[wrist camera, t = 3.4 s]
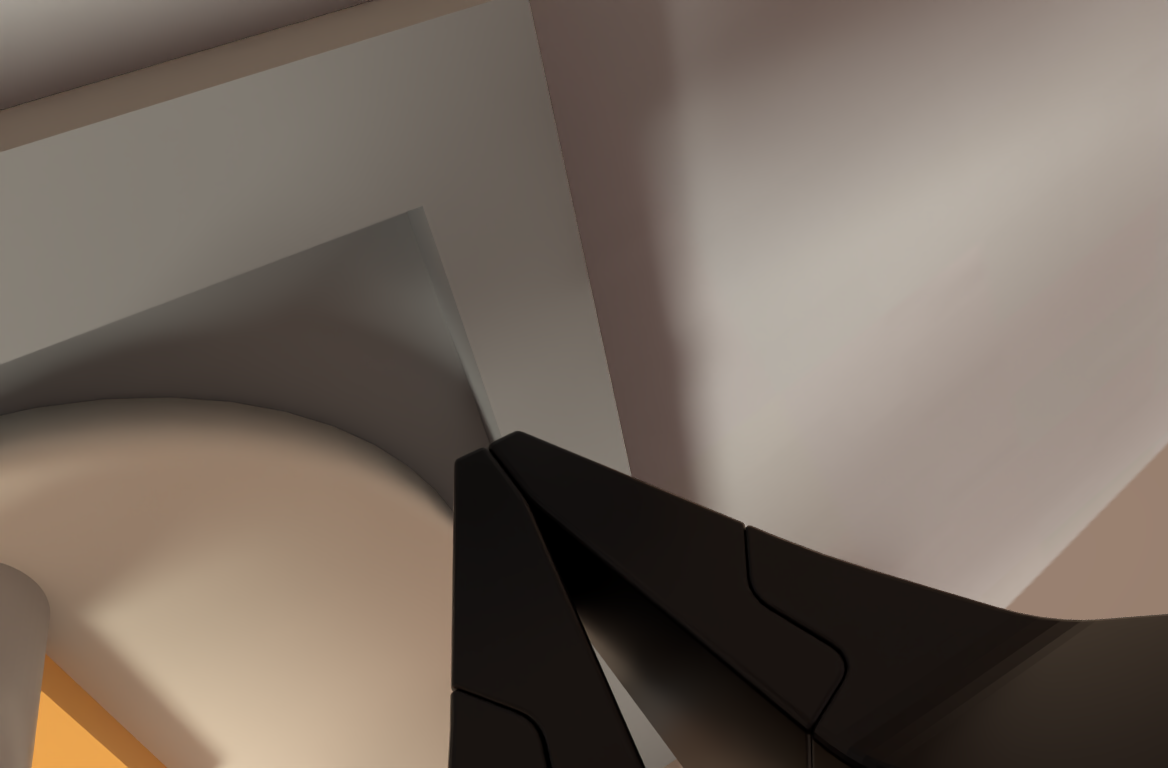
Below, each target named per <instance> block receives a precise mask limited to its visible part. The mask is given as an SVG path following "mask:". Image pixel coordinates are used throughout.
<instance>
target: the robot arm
mask: <svg viewBox="0 0 1168 768" xmlns="http://www.w3.org/2000/svg"><path fill="white" fill-rule="evenodd" d="M591 643H592V644H591ZM592 645H593V646H594V648H595V649H596V650H597V652H598V653H599V654H600V656H601V657H602V658H603V660H604V661H605V662H606V664H607V665H608V667H609V668H610V669H611V671H612V672H613V673H614V675H615V676H616V677H617V679H618V680H619V681H620V683H621V684H622V685H623V687H624V688H625V690H626V691H627V692H628V694H629V695H630V696H631V698H632V699H633V700H634V702H635V703H636V704H637V706H638V707H639V709H640V710H641V711H642V713H643V714H644V715H645V717H646V718H647V719H648V721H649V722H650V723H651V725H652V726H653V728H654V729H655V730H656V732H657V733H658V734H659V736H660V737H661V738H662V740H663V741H664V742H665V744H666V745H667V746H668V748H669V749H670V751H671V752H672V753H673V755H674V756H675V757H676V759H677V760H678V761H679V763H680V764H681V765H682V767H683V768H1168V614H1162V615H1149V616H1136V617H1123V618H1111V619H1099V620H1064V619H1055V618H1046V617H1039V616H1033V615H1028V614H1023V613H1018V612H1014V611H1010V610H1006V609H1002V608H999V607H995V606H992V605H988V604H985V603H982V602H978V601H975V600H971V599H968V598H965V597H961V596H958V595H955V594H951V593H948V592H945V591H941V590H938V589H935V588H931V587H928V586H925V585H921V584H918V583H914V582H911V581H908V580H904V579H901V578H898V577H894V576H891V575H888V574H884V573H881V572H878V571H874V570H871V569H868V568H865V567H862V566H859V565H856V564H853V563H850V562H846V561H843V560H840V559H837V558H834V557H831V556H828V555H825V554H822V553H819V552H817V551H814V550H811V549H809V548H806V547H803V546H801V545H798V544H796V543H793V542H790V541H788V540H785V539H783V538H780V537H777V536H775V535H772V534H770V533H768V532H765V531H763V530H760V529H758V528H756V527H753V526H750V525H749V526H747V527H746V528H745V525H744V523H743V522H740V521H738V520H735V519H733V518H731V517H728V516H726V515H723V514H721V513H719V512H716V511H714V510H711V509H709V508H706V507H704V506H702V505H699V504H697V503H694V502H692V501H689V500H687V499H685V498H682V497H680V496H677V495H675V494H673V493H670V492H668V491H665V490H663V489H660V488H658V487H656V486H653V485H651V484H648V483H646V482H643V481H641V480H639V479H636V478H634V477H631V476H629V475H627V474H624V473H622V472H619V471H617V470H614V469H612V468H610V467H607V466H605V465H602V464H600V463H597V462H595V461H593V460H590V459H588V458H585V457H583V456H581V455H578V454H576V453H573V452H571V451H568V450H566V449H564V448H561V447H559V446H556V445H554V444H552V443H549V442H547V441H544V440H542V439H539V438H537V437H535V436H532V435H530V434H527V433H525V432H522V431H514V432H512V433H510V434H508V435H505V436H503V437H501V438H499V439H497V440H495V441H493V442H491V443H490V445H489V449H487V448H486V447H480V448H478V449H476V450H474V451H472V452H470V453H468V454H466V455H463V456H461V457H459V458H458V459H456V461H455V463H454V493H453V564H452V635H451V689H452V691H453V692H452V693H451V695H450V732H449V751H448V768H646V767H645V765H644V763H643V761H642V758H641V756H640V754H639V751H638V749H637V747H636V745H635V742H634V740H633V738H632V735H631V733H630V731H629V729H628V726H627V724H626V722H625V720H624V717H623V715H622V713H621V710H620V708H619V706H618V704H617V701H616V699H615V697H614V694H613V692H612V690H611V688H610V685H609V683H608V681H607V678H606V676H605V674H604V672H603V669H602V667H601V665H600V662H599V660H598V658H597V656H596V653H595V651H594V649H593V647H592Z"/></svg>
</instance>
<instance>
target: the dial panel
mask: <svg viewBox="0 0 1168 768" xmlns="http://www.w3.org/2000/svg"><path fill="white" fill-rule="evenodd" d="M169 397H171V398H185V399H198V400H212V401H225V402H235V403H240V404H245V405H251V406H256V407H262V408H267V409H273V410H278V411H284V412H288V413H291V414H294V415H298V416H301V417H304V418H307V419H311V420H314V421H317V422H321V423H324V424H327V425H330V426H334V427H336V428H338V429H340V430H343V431H345V432H347V433H349V434H351V435H354V436H356V437H358V438H360V439H362V440H365V441H367V442H369V443H371V444H373V445H375V446H377V447H379V448H380V449H382V450H383V451H385V452H386V453H388V454H390V455H391V456H393V457H394V458H396V459H397V460H399V461H401V462H402V463H404V464H405V465H407V466H408V467H410V468H411V469H412V470H413V471H414V472H415V473H416V474H417V475H419V476H420V477H421V478H422V479H423V480H424V481H425V482H426V483H428V484H429V485H430V486H431V487H432V488H433V489H434V490H436V492H437V493H438V494H439V495H440V497H441V498H442V499H443V500H444V502H445V503H446V504H447V505H448V507H449V508H450V509H451V510H452V512H453V493H454V463H455V461H456V459H458V458H459V457H461V456H463V455H466V454H468V453H470V452H472V451H474V450H476V449H478V448H480V447H486V448H487V449H489V445H490V443H491V442H493V441H495V440H497V439H499V438H501V437H503V436H505V435H508V434H510V433H512V432H514V431H522V432H525V433H527V434H530V435H532V436H535V437H537V438H539V439H542V440H544V441H547V442H549V443H552V444H554V445H556V446H559V447H561V448H564V449H566V450H568V451H571V452H573V453H576V454H578V455H581V456H583V457H585V458H588V459H590V460H593V461H595V462H597V463H600V464H602V465H605V466H607V467H610V468H612V469H614V470H617V471H619V472H622V473H624V474H627V475H629V476H631V471H630V466H629V462H628V457H627V452H626V448H625V443H624V438H623V434H622V429H621V424H620V420H619V415H618V411H617V406H616V401H615V397H614V392H613V387H612V383H611V378H610V373H609V369H608V364H607V359H606V355H605V350H604V345H603V341H602V336H601V332H600V327H599V322H598V318H597V313H596V308H595V304H594V299H593V294H592V290H591V285H590V280H589V276H588V271H587V266H586V262H585V257H584V253H583V248H582V243H581V239H580V234H579V229H578V225H577V220H576V215H575V211H574V206H573V201H572V197H571V192H570V188H569V183H568V178H567V174H566V169H565V164H564V160H563V155H562V150H561V146H560V141H559V136H558V132H557V127H556V122H555V118H554V113H553V109H552V104H551V99H550V95H549V90H548V85H547V81H546V76H545V71H544V67H543V62H542V57H541V53H540V48H539V43H538V39H537V34H536V30H535V25H534V20H533V16H532V11H531V6H530V2H529V0H373V1H370V2H366V3H363V4H360V5H356V6H353V7H349V8H346V9H343V10H339V11H336V12H333V13H329V14H326V15H322V16H319V17H316V18H312V19H309V20H305V21H302V22H299V23H295V24H292V25H288V26H285V27H282V28H278V29H275V30H272V31H268V32H265V33H261V34H258V35H255V36H251V37H248V38H244V39H241V40H238V41H234V42H231V43H228V44H224V45H221V46H217V47H214V48H211V49H207V50H204V51H200V52H197V53H194V54H190V55H187V56H183V57H180V58H177V59H173V60H170V61H167V62H163V63H160V64H156V65H153V66H150V67H146V68H143V69H139V70H136V71H133V72H129V73H126V74H122V75H119V76H116V77H112V78H109V79H106V80H102V81H99V82H95V83H92V84H89V85H85V86H82V87H78V88H75V89H72V90H68V91H65V92H62V93H58V94H55V95H51V96H48V97H45V98H41V99H38V100H34V101H31V102H28V103H24V104H21V105H17V106H14V107H11V108H7V109H4V110H1V111H0V416H1V415H6V414H10V413H14V412H19V411H23V410H28V409H32V408H39V407H47V406H55V405H63V404H71V403H79V402H86V401H94V400H102V399H132V398H169ZM631 477H632V476H631ZM591 644H592V643H591ZM592 647H593V649H594V651H595V653H596V656H597V658H598V660H599V662H600V665H601V667H602V669H603V672H604V674H605V676H606V678H607V681H608V683H609V685H610V688H611V690H612V692H613V694H614V697H615V699H616V701H617V704H618V706H619V708H620V710H621V713H622V715H623V717H624V720H625V722H626V724H627V726H628V729H629V731H630V733H631V735H632V738H633V740H634V742H635V745H636V747H637V749H638V751H639V754H640V756H641V758H642V761H643V763H644V765H645V767H646V768H663V767H665V766H667V765H668V764H670V763H671V762H673V761H674V760H676V757H675V756H674V755H673V753H672V752H671V751H670V749H669V748H668V746H667V745H666V744H665V742H664V741H663V740H662V738H661V737H660V736H659V734H658V733H657V732H656V730H655V729H654V728H653V726H652V725H651V723H650V722H649V721H648V719H647V718H646V717H645V715H644V714H643V713H642V711H641V710H640V709H639V707H638V706H637V704H636V703H635V702H634V700H633V699H632V698H631V696H630V695H629V694H628V692H627V691H626V690H625V688H624V687H623V685H622V684H621V683H620V681H619V680H618V679H617V677H616V676H615V675H614V673H613V672H612V671H611V669H610V668H609V667H608V665H607V664H606V662H605V661H604V660H603V658H602V657H601V656H600V654H599V653H598V652H597V650H596V649H595V648H594V646H593V645H592Z"/></svg>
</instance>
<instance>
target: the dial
mask: <svg viewBox="0 0 1168 768" xmlns="http://www.w3.org/2000/svg"><path fill="white" fill-rule="evenodd" d="M452 564H453V512H452V510H451V509H450V508H449V507H448V505H447V504H446V503H445V502H444V500H443V499H442V498H441V497H440V495H439V494H438V493H437V492H436V490H434V489H433V488H432V487H431V486H430V485H429V484H428V483H426V482H425V481H424V480H423V479H422V478H421V477H420V476H419V475H417V474H416V473H415V472H414V471H413V470H412V469H411V468H410V467H408V466H407V465H405V464H404V463H402V462H401V461H399V460H397V459H396V458H394V457H393V456H391V455H390V454H388V453H386V452H385V451H383V450H382V449H380V448H379V447H377V446H375V445H373V444H371V443H369V442H367V441H365V440H362V439H360V438H358V437H356V436H354V435H351V434H349V433H347V432H345V431H343V430H340V429H338V428H336V427H334V426H330V425H327V424H324V423H321V422H317V421H314V420H311V419H307V418H304V417H301V416H298V415H294V414H291V413H288V412H284V411H278V410H273V409H267V408H262V407H256V406H251V405H245V404H240V403H235V402H225V401H212V400H198V399H185V398H171V397H169V398H132V399H102V400H94V401H86V402H79V403H71V404H63V405H55V406H47V407H39V408H32V409H28V410H23V411H19V412H14V413H10V414H6V415H1V416H0V768H448V751H449V732H450V695H451V693H452V692H453V691H452V689H451V635H452Z"/></svg>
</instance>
